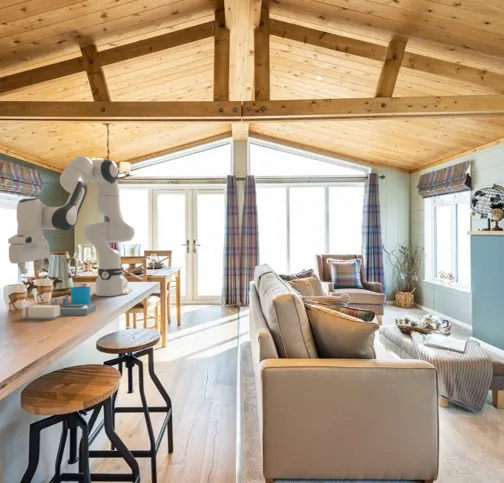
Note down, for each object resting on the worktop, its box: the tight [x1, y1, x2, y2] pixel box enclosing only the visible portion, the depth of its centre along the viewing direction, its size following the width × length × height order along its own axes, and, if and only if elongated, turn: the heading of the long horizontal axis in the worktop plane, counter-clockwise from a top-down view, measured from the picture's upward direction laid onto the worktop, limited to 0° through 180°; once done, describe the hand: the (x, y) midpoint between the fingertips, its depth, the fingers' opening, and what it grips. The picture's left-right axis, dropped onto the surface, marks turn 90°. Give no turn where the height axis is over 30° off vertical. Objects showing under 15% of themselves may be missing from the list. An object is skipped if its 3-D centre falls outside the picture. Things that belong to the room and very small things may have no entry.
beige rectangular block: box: [21, 304, 61, 318], centre depth 142 cm, size 13×4×4 cm, turn 87°
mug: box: [70, 285, 92, 305], centre depth 167 cm, size 12×8×8 cm
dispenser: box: [50, 294, 97, 316], centre depth 151 cm, size 14×10×6 cm
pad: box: [19, 314, 63, 321], centre depth 142 cm, size 7×13×1 cm, turn 87°
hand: (31, 271), depth 145 cm, fingers open, 8 cm apart
